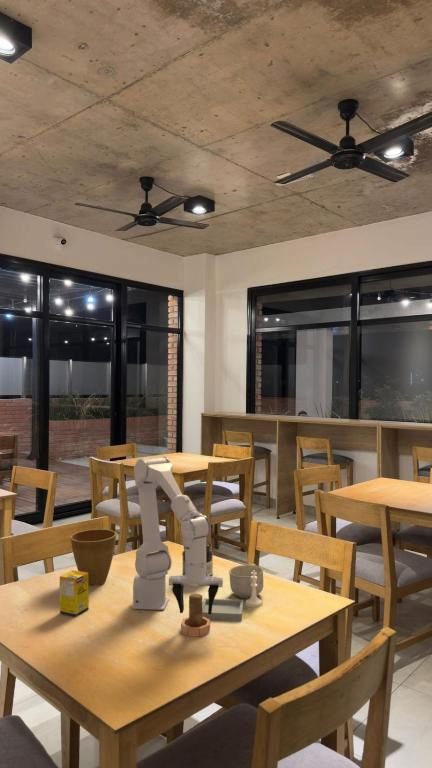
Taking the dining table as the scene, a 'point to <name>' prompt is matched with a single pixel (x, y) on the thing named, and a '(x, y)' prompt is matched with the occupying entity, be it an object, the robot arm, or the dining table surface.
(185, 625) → the ring holder
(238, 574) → the teacup
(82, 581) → the supplement box
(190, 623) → the dowel
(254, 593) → the chess piece
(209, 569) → the supplement container
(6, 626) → the dining table surface
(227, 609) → the tray
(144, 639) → the dining table surface
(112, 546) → the plant pot
